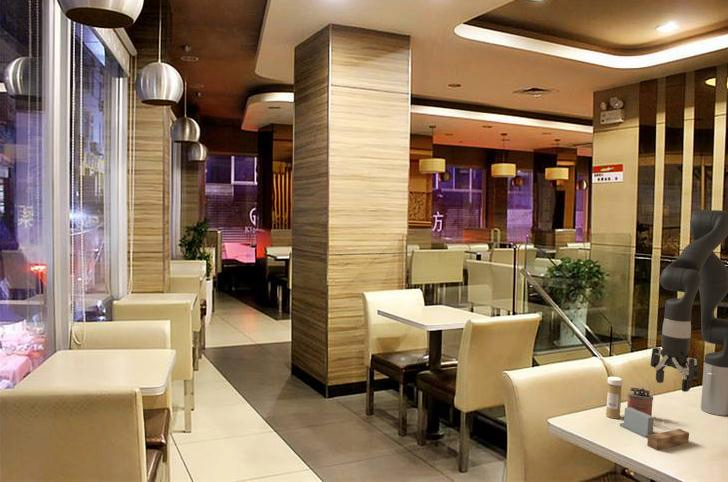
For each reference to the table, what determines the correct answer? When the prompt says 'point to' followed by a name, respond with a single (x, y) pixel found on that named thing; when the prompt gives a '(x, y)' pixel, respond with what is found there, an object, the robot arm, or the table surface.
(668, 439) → the walnut bar
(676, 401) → the table surface
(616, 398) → the sprinkles bottle
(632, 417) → the fulcrum
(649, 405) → the lighter
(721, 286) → the robot arm
